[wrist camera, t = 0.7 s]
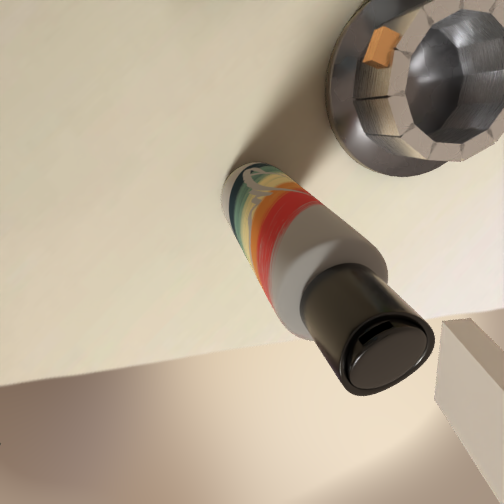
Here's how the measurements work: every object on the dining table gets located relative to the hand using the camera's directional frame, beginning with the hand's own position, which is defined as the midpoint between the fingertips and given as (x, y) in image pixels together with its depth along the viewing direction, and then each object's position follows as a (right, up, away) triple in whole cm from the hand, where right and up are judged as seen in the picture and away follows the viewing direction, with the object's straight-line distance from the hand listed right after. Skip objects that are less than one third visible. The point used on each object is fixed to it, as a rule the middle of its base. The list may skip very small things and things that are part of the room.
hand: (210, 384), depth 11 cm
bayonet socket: (+14, +17, +20) cm, 30 cm away
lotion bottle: (+1, +8, +20) cm, 22 cm away
